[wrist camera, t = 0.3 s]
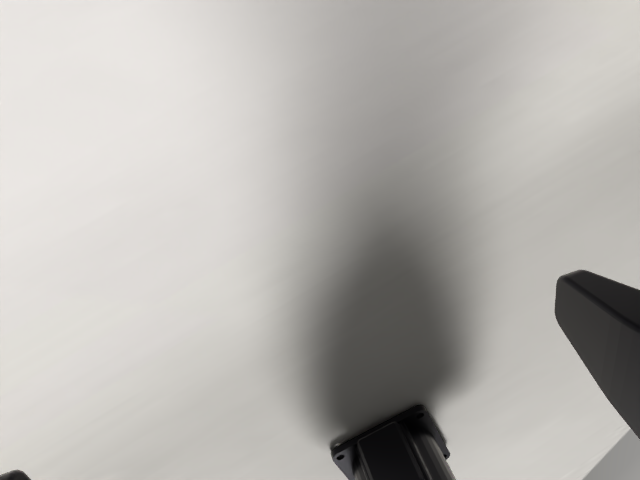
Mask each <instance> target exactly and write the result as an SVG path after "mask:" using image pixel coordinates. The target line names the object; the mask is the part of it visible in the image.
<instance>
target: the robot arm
mask: <svg viewBox="0 0 640 480" xmlns="http://www.w3.org/2000/svg"><path fill="white" fill-rule="evenodd" d="M555 316H556V319H557V322H558V324H559V325H560V327H561V329H562V330H563V332H564V333H565V335H566V336H567V338H568V339H569V341H570V342H571V344H572V346H573V347H574V349H575V350H576V352H577V353H578V355H579V356H580V358H581V359H582V361H583V362H584V364H585V366H586V367H587V369H588V370H589V372H590V373H591V375H592V376H593V378H594V379H595V381H596V382H597V384H598V386H599V387H600V389H601V390H602V391H603V393H604V394H605V396H606V397H607V399H608V400H609V401H610V403H611V404H612V405H613V407H614V408H615V409H616V410H617V412H618V413H619V414H620V415H621V417H622V418H623V419H624V420H625V422H626V423H627V424H628V425H629V426H630V428H631V429H632V430H633V431H634V433H635V434H636V435H637V436H638V438H639V439H640V290H638V289H635V288H633V287H630V286H627V285H624V284H622V283H619V282H616V281H614V280H611V279H608V278H605V277H603V276H600V275H597V274H594V273H592V272H589V271H586V270H577V271H574V272H571V273H568V274H565V275H563V276H561V277H559V279H558V280H557V285H556V299H555ZM331 456H332V459H333V461H334V462H335V464H336V465H337V466H338V467H339V468H340V470H341V471H342V472H343V473H344V474H345V476H346V477H347V478H348V479H349V480H456V479H455V477H454V475H453V473H452V471H451V469H450V467H449V465H448V463H447V461H446V459H448V458H449V456H450V453H449V451H448V449H447V447H446V445H445V443H444V441H443V440H442V438H441V436H440V434H439V432H438V430H437V429H436V427H435V425H434V423H433V421H432V419H431V418H430V416H429V414H428V412H427V410H426V408H425V407H424V406H423V405H417V406H415V407H413V408H411V409H409V410H407V411H405V412H403V413H402V414H400V415H398V416H396V417H394V418H392V419H390V420H388V421H386V422H384V423H382V424H381V425H379V426H377V427H375V428H373V429H371V430H369V431H367V432H365V433H363V434H361V435H360V436H358V437H356V438H354V439H352V440H350V441H348V442H346V443H344V444H342V445H340V446H339V447H337V448H335V449H333V450H332V452H331ZM0 480H31V479H30V478H29V477H28V476H27V475H26V474H25V473H24V472H23V471H20V470H13V471H10V472H8V473H5V474H2V475H0Z"/></svg>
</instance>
